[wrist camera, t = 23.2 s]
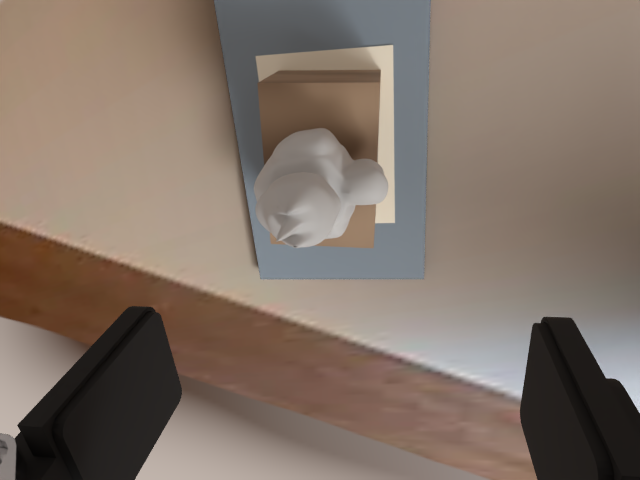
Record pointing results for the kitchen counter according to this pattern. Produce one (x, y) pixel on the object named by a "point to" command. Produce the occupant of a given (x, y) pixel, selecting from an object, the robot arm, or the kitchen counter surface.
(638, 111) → the kitchen counter surface
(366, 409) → the kitchen counter surface
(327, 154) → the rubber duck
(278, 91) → the walnut block
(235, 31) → the board
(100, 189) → the kitchen counter surface
